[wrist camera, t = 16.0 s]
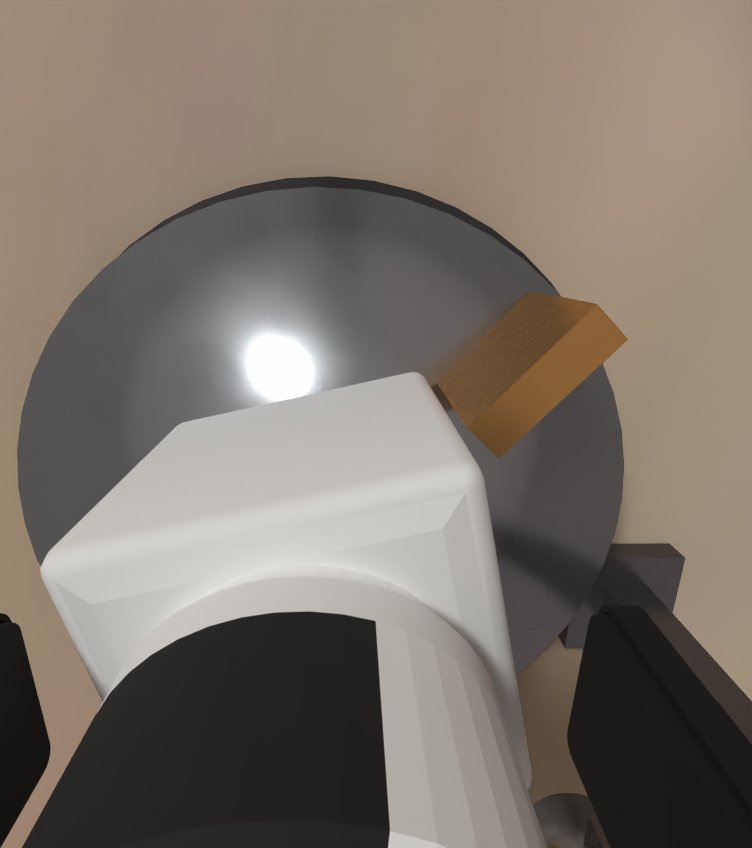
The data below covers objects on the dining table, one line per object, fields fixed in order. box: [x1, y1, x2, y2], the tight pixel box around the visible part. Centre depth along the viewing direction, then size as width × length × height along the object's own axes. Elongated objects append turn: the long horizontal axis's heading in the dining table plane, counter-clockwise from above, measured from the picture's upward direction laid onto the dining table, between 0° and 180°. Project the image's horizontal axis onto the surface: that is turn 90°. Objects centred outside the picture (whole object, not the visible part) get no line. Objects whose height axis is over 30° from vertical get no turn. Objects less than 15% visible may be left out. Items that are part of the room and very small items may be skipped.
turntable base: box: [123, 177, 559, 294], centre depth 18 cm, size 19×19×1 cm
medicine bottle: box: [22, 372, 547, 848], centre depth 10 cm, size 7×7×12 cm
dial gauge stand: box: [533, 544, 752, 848], centre depth 15 cm, size 4×9×11 cm, turn 89°
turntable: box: [17, 187, 628, 675], centre depth 15 cm, size 18×18×6 cm
